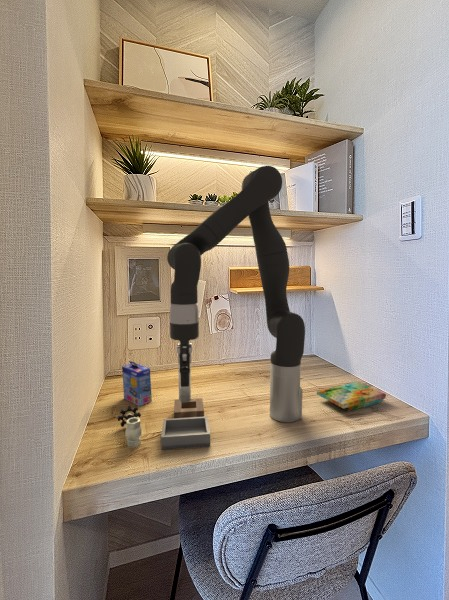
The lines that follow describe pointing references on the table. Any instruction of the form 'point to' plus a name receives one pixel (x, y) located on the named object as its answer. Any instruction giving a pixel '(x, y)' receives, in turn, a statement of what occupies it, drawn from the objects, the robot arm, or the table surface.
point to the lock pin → (184, 388)
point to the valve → (131, 426)
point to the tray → (185, 433)
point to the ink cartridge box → (137, 383)
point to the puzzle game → (352, 396)
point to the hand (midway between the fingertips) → (184, 383)
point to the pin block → (189, 408)
